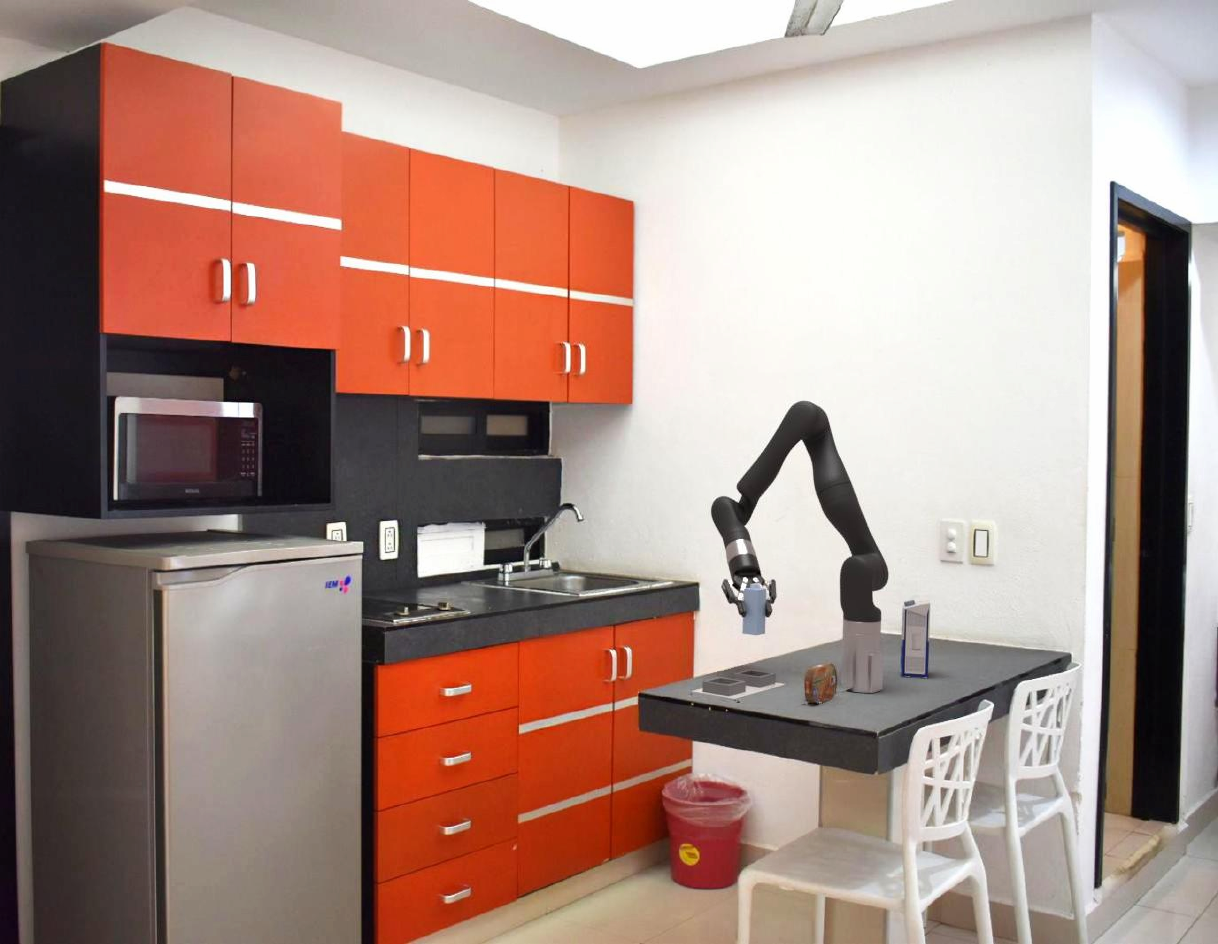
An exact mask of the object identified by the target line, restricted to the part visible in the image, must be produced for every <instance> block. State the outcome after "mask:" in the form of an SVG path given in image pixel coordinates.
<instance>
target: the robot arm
mask: <svg viewBox="0 0 1218 944" xmlns="http://www.w3.org/2000/svg"><path fill="white" fill-rule="evenodd" d="M800 441H802V443H803V445H804V446H805V450H806V452H807V453H808V456H809V458H810V461H811V466H812V477H813V486H814V490H815V494H816V497H817V499H818V502H819V505H820V507H821V510H822V512H823V514H824V515H825V518H826V519H827V520H828V521H829V523H830V524H831V525H832V526H833V528H834V529H836V531H837V532H838V533H839V534H840V536H841V537H842V538H843V539H844V541H845V543H846V544H847V547H848V549H849V551H850V554H851V556H848V557H847V558H845V560H844V561H843V563H842V564H841V568H840V573H839V602H840V604H839V605H840V608H841V610H842V611H841V612H842V637H841V638H842V641H841V642H842V643H841V674H840V675H841V676H840V685H841V687H844V688H847V689H846V691H847V692H855V693H866V694H867V693H869V694H874V693H877V692H880V691H883V683H884V682H883V679H884V678H883V677H884V674H883V673H884V672H883V671H884V651H882V650H881V639H882V638H881V636H882V635H881V634H882V633H881V632H882V610H881V609H880V608H879V607H878V606H876V605H875V603H874V600H873V599H874V598H873V597H874V595H873V592H878V591H880V590H882V589H884V587H886V585H887V584H888V581H889V575H890V573H889V569H888V565H887V562H886V559H885V558H884V556H883V554H882V552H881V550H880V549H879V546H878V545H877V542H876V540H875V538H874V536H873V534H872V532H871V530H870V527H869V524H868V521H867V520H866V518H865V515H864V512H863V510H862V507H861V505H860V502H859V498H858V496H857V493H856V491H855V489H854V485H853V483H852V481H851V478H850V476H849V474H848V472H847V468H846V467H845V465H844V463H843V461H842V458H841V456H840V454H839V451H838V449H837V446H836V442H835V439H834V436H833V431H832V427H831V424H830V419H829V417H828V414H827V413H826V412H825V410H824V409H823V408H822V407H821V406H820V405H817V404H815V403H813V402H812V401H809V400H798V401H797V402H795V403H793V404H792V405H791V406H790V408H789V409H788V410H787V411H786V413H785V415H784V417H783V419H782V420H781V422H780V424H779V425H778V428H777V429H776V431H775V432H774V434H773V435H772V437H771V438H770V440H769V442H768V443H767V444H766V446H765V448H764V449H763V450H762V452H761V453H760V454H759V455H758V457H757V459H756V460H755V461H754V462H753V463H752V464H751V466H750V467H749V468H748V469H747V471H746V472H745V473H744V474H743V476H742V477H741V478H740V479H739V481H738V482H737V483H736V490H737V491H738V493H739V494H740V495H741V496H740V499H739V500H738V501H736V500H735V499H733V498H731V497H729V496H727V495H726V496H725V495H720V496H718V497H716V499H715V500H714V501H713V502H712V503H711V504H712V505H711V506H710V515H711V518H712V522H713V524H714V526H715V528H716V530H717V531H718V534H719V535H720V537H721V538H722V541H723V545H724V551H725V557H726V564H727V566H728V570H729V573H730V578H731V580H728V578H727V579H726V578H724V579H723V581H722V583H721V589H722V591H723V594H724V596H725V598H726V601H727V603H728V604H730V605H731V604H734V605H735V606H736V607H737V611H738V615H739V616H740V617H741V618H743V617H745V616H746V614H747V611H746V607H745V603H744V601H743V597H744V589H745V588H750V585H751V584H755V583H757V584H760V588H762V589H766V591H768V593H767V592H766V609H765V615H766V616H765V618H770V617H771V616H772V613H773V606H772V605H773V604H775V601H776V599H777V584H776V583H777V580H776V579H773V578H771V580H765V578H764V577H763V575H762V571H761V567H760V563H759V560H758V557H757V551H756V550H755V547H754V546H753V545H754V544H753V542H752V538H751V534H750V532H749V530H748V528H747V527H746V525H748V523H749V522H750V519H751V518H752V515H753V513H754V511H755V509H756V507H757V506H758V502H759V500H760V499H761V497H763V495H764V494H765V492H766V491H767V490H768V489H769V488H770V487H771V486H772V484H773V483H774V481H775V480H776V479H777V477H778V475H779V473H780V472H781V469H782V466H783V465H784V463H785V461H786V459H787V457H788V455H789V454H790V453H791V451H792V450H793V449H794V448H795V446H796V445H797V444H798V443H799V442H800ZM732 587H733V588H734V589H735V590H736V591H738V592H737V593H738V594H737V595H735V592H734V589H732ZM765 587H766V588H765Z"/></svg>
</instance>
